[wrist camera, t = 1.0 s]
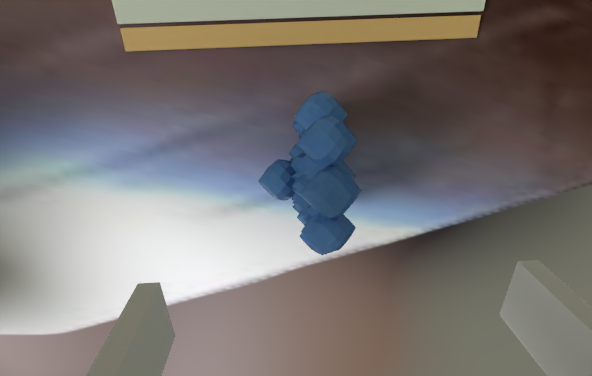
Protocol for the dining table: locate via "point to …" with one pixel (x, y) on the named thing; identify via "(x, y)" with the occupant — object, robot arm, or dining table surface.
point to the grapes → (318, 174)
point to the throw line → (299, 33)
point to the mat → (276, 9)
